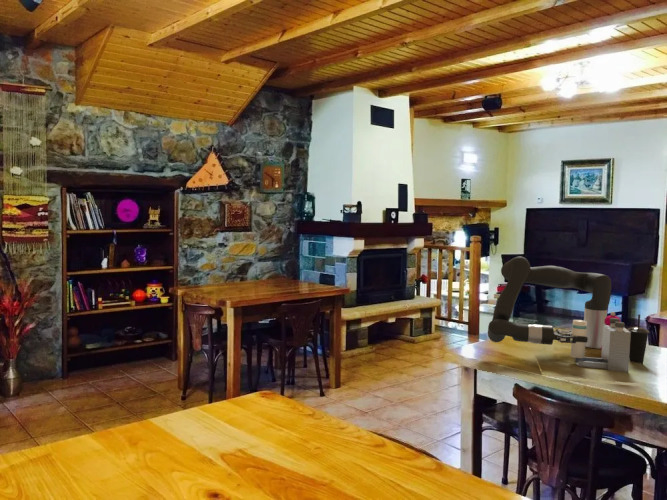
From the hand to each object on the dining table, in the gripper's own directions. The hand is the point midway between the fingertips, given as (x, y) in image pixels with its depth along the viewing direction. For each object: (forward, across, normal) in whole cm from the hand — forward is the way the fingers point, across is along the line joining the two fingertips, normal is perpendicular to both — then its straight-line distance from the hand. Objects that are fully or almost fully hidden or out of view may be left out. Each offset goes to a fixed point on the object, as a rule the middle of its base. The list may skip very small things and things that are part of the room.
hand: (585, 338), depth 218 cm
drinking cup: (+22, +13, +12) cm, 28 cm away
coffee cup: (-3, 0, +8) cm, 8 cm away
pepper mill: (+13, +16, +12) cm, 24 cm away
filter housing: (+6, 0, +11) cm, 13 cm away
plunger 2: (+11, -4, -1) cm, 12 cm away
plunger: (+11, +4, -1) cm, 12 cm away
